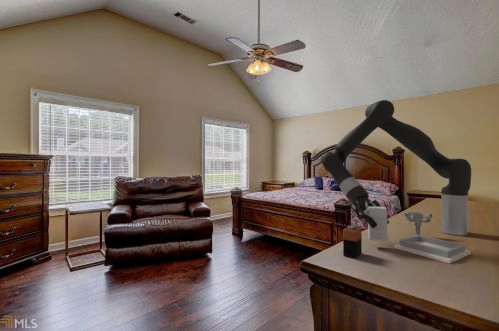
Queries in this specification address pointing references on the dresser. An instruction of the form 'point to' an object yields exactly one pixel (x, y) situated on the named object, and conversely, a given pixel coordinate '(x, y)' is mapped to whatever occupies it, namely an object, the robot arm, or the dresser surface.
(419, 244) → the grey rimmed tray
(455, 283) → the dresser surface
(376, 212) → the skincare box
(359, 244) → the battery
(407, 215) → the mechanical component
